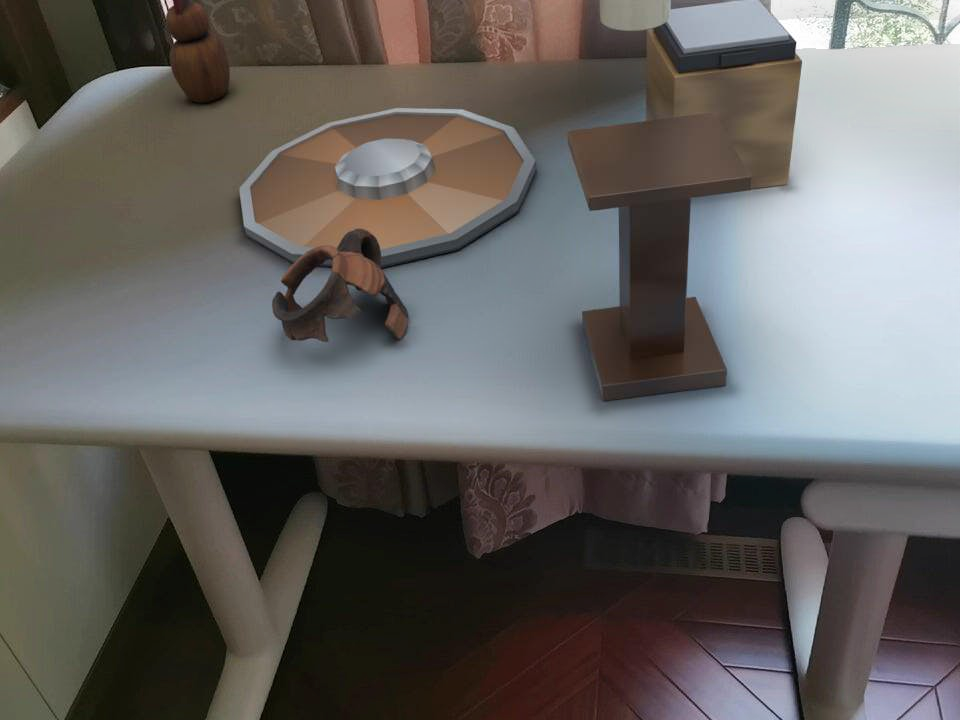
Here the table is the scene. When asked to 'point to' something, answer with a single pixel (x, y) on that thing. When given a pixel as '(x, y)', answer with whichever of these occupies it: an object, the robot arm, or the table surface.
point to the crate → (733, 106)
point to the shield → (389, 184)
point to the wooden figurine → (196, 53)
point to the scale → (724, 36)
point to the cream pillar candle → (634, 14)
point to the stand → (654, 249)
